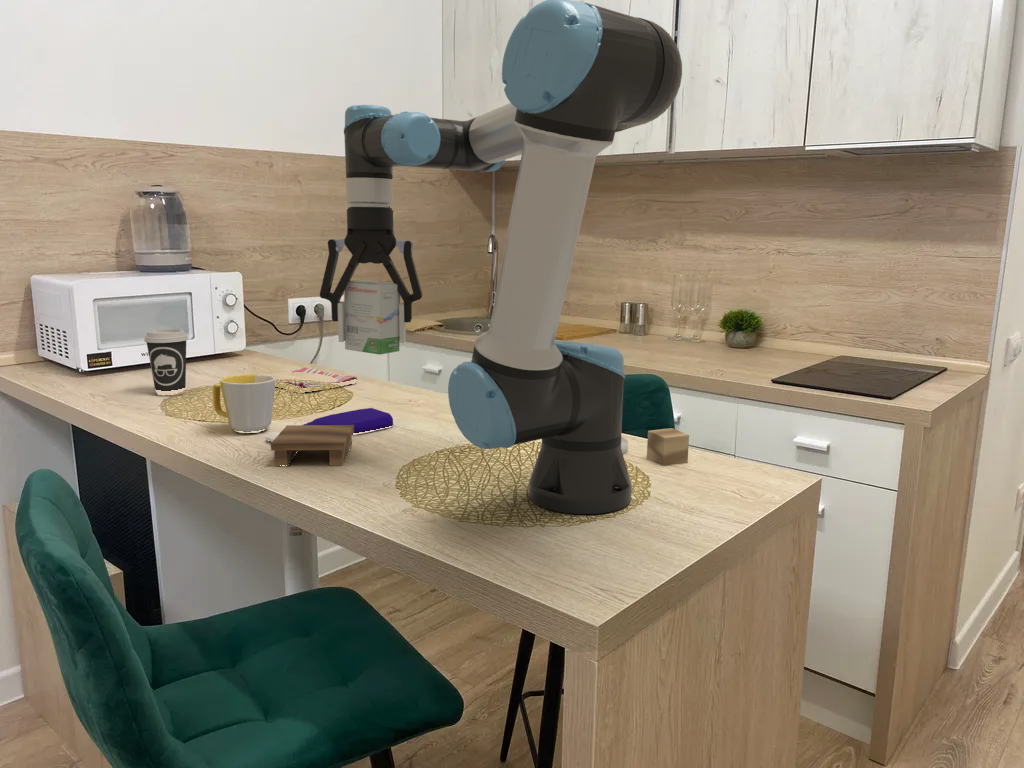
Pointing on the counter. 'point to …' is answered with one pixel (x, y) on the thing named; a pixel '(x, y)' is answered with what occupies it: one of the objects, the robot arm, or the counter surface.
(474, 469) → the counter surface
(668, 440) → the oak block
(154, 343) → the coffee cup
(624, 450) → the pale grey dome
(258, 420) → the mug
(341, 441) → the stand
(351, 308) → the ink box
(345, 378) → the dish towel
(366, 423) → the purple bottle shape
